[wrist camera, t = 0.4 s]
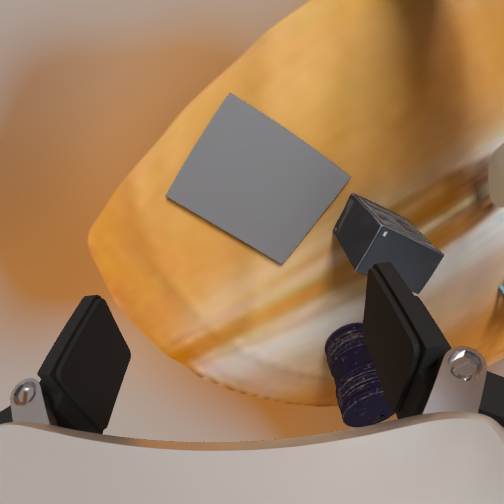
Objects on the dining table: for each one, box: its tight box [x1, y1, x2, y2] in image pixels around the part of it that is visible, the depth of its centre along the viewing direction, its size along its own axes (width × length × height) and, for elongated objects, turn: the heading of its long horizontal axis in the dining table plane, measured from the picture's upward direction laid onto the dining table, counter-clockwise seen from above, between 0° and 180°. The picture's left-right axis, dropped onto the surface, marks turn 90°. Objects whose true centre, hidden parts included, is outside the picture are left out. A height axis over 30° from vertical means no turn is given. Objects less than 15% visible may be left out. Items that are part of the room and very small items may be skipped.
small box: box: [333, 193, 444, 294], centre depth 36 cm, size 11×6×10 cm, turn 69°
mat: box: [166, 93, 351, 264], centre depth 37 cm, size 15×18×1 cm
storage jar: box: [325, 323, 396, 427], centre depth 44 cm, size 10×10×15 cm
